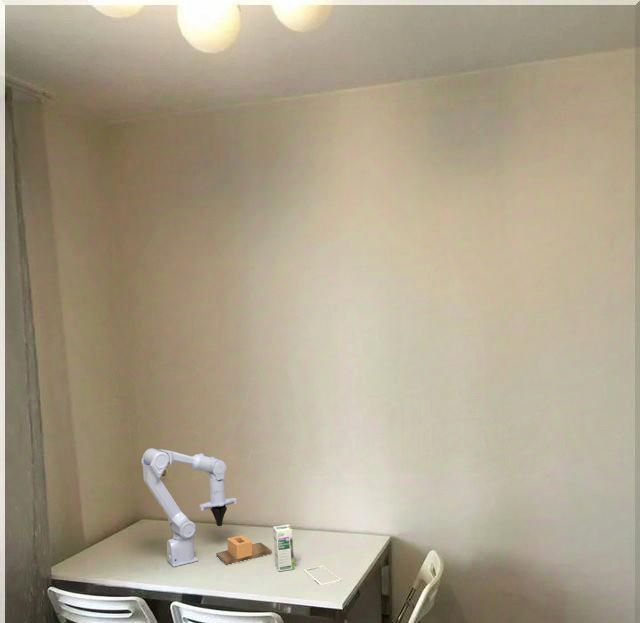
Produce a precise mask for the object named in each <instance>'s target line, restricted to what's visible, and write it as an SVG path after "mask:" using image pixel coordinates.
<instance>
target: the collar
mask: <svg viewBox="0 0 640 623" xmlns="http://www.w3.org/2000/svg"><path fill="white" fill-rule="evenodd" d="M237 541H240V542H242V543H239V542H237ZM252 544H253V542H252V541H251V540H250V539H249V538H247V537H246V536H244V535H243V534H241V535H236V536H233V537H229V538H227V550H228V552H229V553H230V554H231V555H233V556H234V557H235V558H237V559H240V558H244V557H248V556H252Z"/></svg>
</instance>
